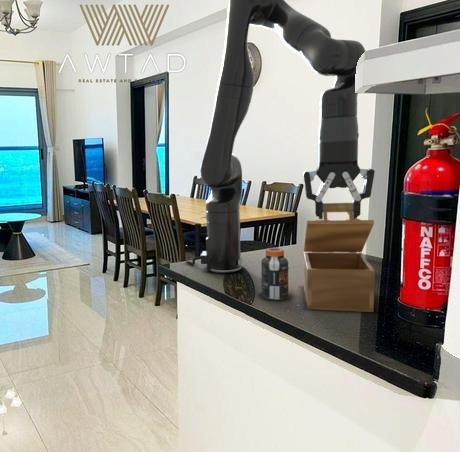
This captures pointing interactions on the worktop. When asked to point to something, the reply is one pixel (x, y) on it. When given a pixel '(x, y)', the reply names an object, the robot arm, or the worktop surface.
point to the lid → (337, 231)
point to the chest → (338, 281)
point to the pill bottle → (274, 274)
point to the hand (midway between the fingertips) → (337, 218)
